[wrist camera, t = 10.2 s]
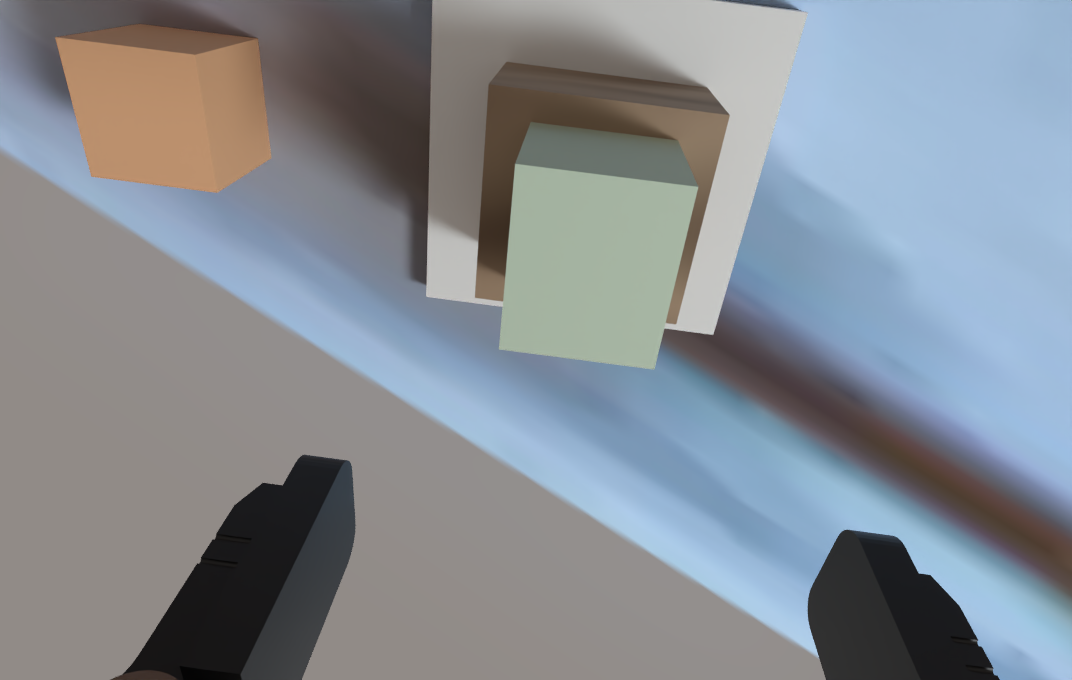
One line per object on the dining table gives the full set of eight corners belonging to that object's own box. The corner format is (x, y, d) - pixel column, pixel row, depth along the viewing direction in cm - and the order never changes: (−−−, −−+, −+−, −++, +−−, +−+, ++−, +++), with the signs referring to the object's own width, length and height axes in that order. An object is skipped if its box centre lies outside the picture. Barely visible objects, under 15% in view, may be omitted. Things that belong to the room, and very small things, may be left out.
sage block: (530, 121, 22) (515, 163, 17) (677, 140, 22) (698, 186, 17) (515, 280, 25) (499, 349, 21) (644, 297, 25) (654, 369, 21)
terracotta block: (140, 23, 27) (55, 37, 23) (258, 38, 27) (195, 54, 23) (164, 144, 30) (91, 176, 25) (271, 157, 29) (217, 192, 25)
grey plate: (438, -36, 25) (433, -35, 24) (800, 10, 25) (808, 12, 24) (430, 287, 32) (426, 296, 31) (710, 324, 32) (712, 334, 31)
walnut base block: (506, 61, 26) (488, 84, 21) (707, 87, 25) (730, 115, 21) (491, 247, 30) (474, 297, 25) (664, 270, 30) (676, 324, 25)
